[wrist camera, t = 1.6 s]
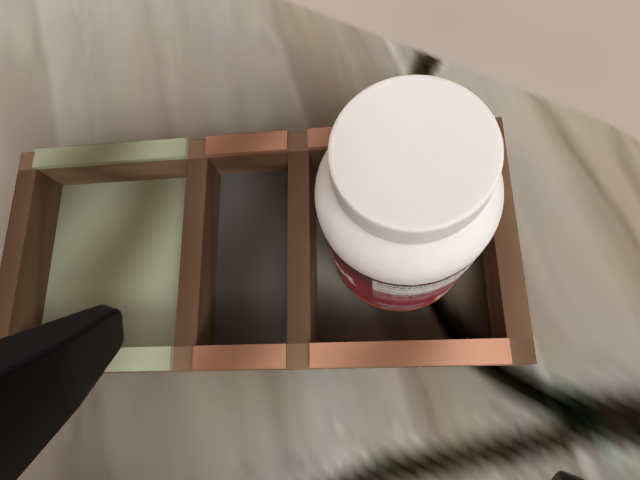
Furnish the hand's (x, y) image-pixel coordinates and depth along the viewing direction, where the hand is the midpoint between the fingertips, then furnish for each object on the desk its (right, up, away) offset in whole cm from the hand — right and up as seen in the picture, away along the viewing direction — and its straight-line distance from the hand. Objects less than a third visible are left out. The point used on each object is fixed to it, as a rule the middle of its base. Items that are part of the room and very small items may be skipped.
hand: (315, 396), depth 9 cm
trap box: (-3, +2, +14) cm, 15 cm away
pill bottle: (+4, +2, +14) cm, 15 cm away
